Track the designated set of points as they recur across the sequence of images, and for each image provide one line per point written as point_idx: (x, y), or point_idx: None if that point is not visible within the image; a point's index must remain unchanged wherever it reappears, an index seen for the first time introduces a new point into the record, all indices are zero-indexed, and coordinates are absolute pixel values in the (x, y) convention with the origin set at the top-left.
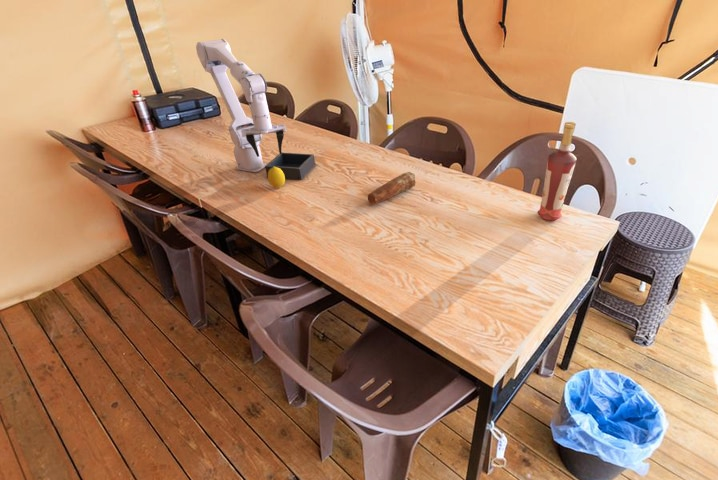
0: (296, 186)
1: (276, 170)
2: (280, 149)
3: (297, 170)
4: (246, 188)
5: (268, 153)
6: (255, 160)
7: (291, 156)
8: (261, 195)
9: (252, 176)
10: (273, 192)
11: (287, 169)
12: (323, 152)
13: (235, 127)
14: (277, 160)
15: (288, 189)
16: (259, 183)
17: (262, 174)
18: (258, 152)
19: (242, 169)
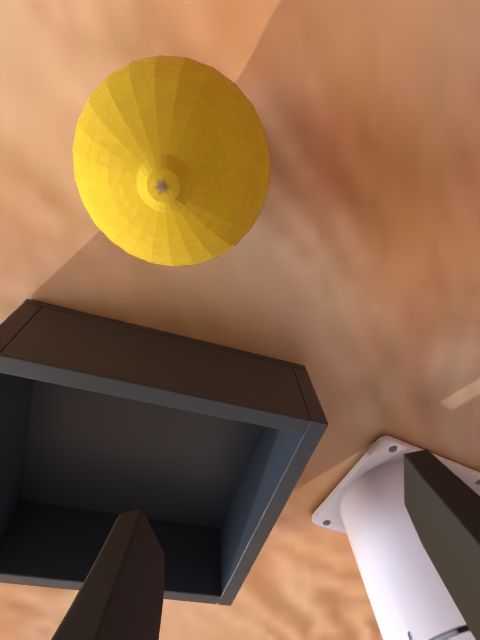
0: (30, 178)
1: (122, 117)
2: (99, 567)
3: (11, 343)
4: (454, 199)
5: (323, 617)
6: (400, 520)
7: None
8: (327, 13)
9: (404, 389)
10: (219, 71)
11: (116, 368)
12: (22, 624)
13: None
14: (245, 524)
15: None
16: (355, 278)
17: (340, 410)
18: (419, 524)
19: (464, 468)
